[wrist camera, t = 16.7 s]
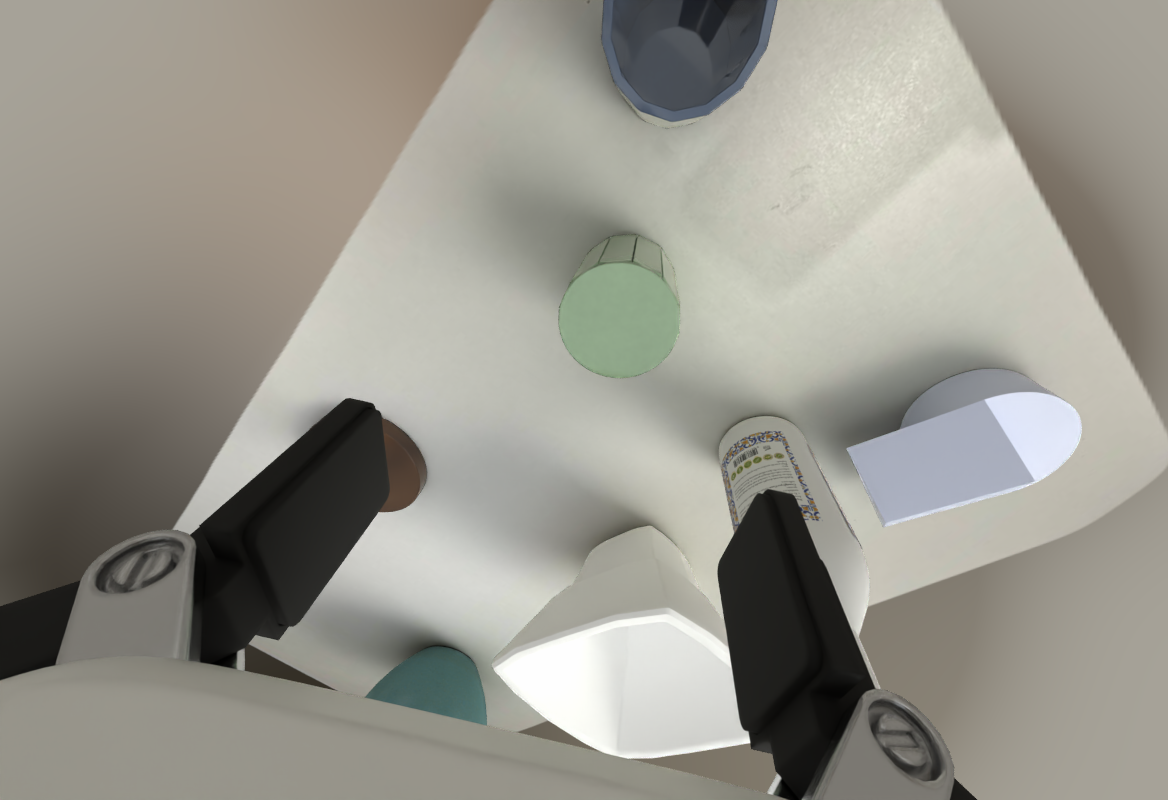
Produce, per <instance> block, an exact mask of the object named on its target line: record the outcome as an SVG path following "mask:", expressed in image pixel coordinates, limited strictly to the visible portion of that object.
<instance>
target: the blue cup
mask: <svg viewBox="0 0 1168 800" xmlns="http://www.w3.org/2000/svg"><path fill="white" fill-rule="evenodd" d="M777 1H778V0H603V17H602V34H601V40H602V45H603V49H604V52H605V55H606V59H607V62H608V65H609V68H610V72H611V75H612V78H613V81H614V83H615V85H616V86H617V88H618V90H619V91H620V93H621V94H622V96H623V97H624V99H625V101H626V102H627V103H628V104H629V105H630V106H631V108H632V109H633V110H634V111H635V112H636V113H637V114H638V116H639V117H640V118H641V119H642V120H644V121H645V122H648V123H651V124H653V125H656V126H660V127H662V128H665V129H669V128H674V127H680V126H684V125H689V124H692V123H695V122H696V121H698V120H700V119H702V118H703V117H705V116H707V115H709V114H710V113H712V112H713V111H714V110H715V109H717V108H718V107H719V106H721V105H722V104H723V103H725V102H726V101H727V100H729V99H730V98H731V97H733V96H734V95H735V94H736V93H738V92H739V91H740V90H741V89H742V88H743V87H744V85H745V83H746V82H747V80H748V78H749V77H750V75H751V74H752V72H753V70H754V69H755V67H756V65H757V64H758V62H759V61H760V59H761V57H762V56H763V54H764V52H765V51H766V49H767V46H768V42H769V37H770V33H771V28H772V24H773V19H774V15H775V10H776V6H777Z"/></svg>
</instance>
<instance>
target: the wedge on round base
mask: <svg viewBox="0 0 1168 800" xmlns="http://www.w3.org/2000/svg"><path fill="white" fill-rule="evenodd" d="M1081 432H1082V424H1081V419H1080V417H1079V415H1078V413H1077V411H1076V410H1075V409H1074V407H1072V406H1071V405H1070V404H1069V403H1068V402H1066V401H1065V400H1063V399H1061V398H1060V397H1058V396H1057V395H1055V394H1053V393H1052V392H1050V391H1049V390H1047V389H1045V388H1044V387H1042V386H1041V385H1039V384H1037V383H1036V382H1034V381H1033V380H1031V379H1029V378H1028V377H1026V376H1024V375H1022V374H1020V373H1017V372H1014V371H1011V370H1006V369H995V368H993V369H979V370H973V371H968V372H964V373H961V374H958V375H955V376H952V377H950V378H948V379H945V380H943V381H941V382H940V383H938V384H936V385H934V386H933V387H931V388H930V389H928V390H927V391H925V392H924V393H923V394H922V395H921V396H919V397H918V398H917V399H916V400H915V401H914V402H913V404H912V405H911V406H910V408H909V409H908V410H907V412H906V414H905V415H904V418H903V420H902V423H901V427H900V430H897V431H894V432H891V433H888V434H886V435H883V436H880V437H877V438H874V439H871V440H869V441H866V442H863V443H860V444H857V445H854V446H852V447H849V448H846V449H847V451H848V453H849V455H850V457H851V460H852V462H853V464H854V466H855V468H856V470H857V472H858V475H859V477H860V479H861V481H862V483H863V485H864V487H865V490H866V492H867V494H868V496H869V498H870V500H871V502H872V505H873V507H874V509H875V511H876V513H877V515H878V517H879V520H880V522H881V524H882V526H883V527H886V526H890V525H893V524H897V523H901V522H904V521H908V520H912V519H915V518H919V517H922V516H926V515H930V514H933V513H937V512H941V511H944V510H948V509H952V508H955V507H959V506H962V505H966V504H970V503H973V502H977V501H981V500H984V499H988V498H992V497H995V496H999V495H1002V494H1006V493H1010V492H1013V491H1016V490H1019V489H1022V488H1025V487H1027V486H1030V485H1032V484H1034V483H1036V482H1038V481H1040V480H1042V479H1043V478H1045V477H1047V476H1048V475H1050V474H1051V473H1052V472H1054V471H1055V470H1057V469H1058V468H1059V467H1060V466H1061V465H1062V464H1063V463H1065V461H1066V460H1067V459H1068V458H1069V457H1070V456H1071V454H1072V453H1073V452H1074V450H1075V449H1076V447H1077V445H1078V443H1079V440H1080V437H1081Z"/></svg>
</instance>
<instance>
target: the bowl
mask: <svg viewBox="0 0 1168 800" xmlns="http://www.w3.org/2000/svg"><path fill="white" fill-rule="evenodd" d="M492 667H493V669H494V671H495V672H496V673H497V674H498V675H499V676H500V677H501V679H502V680H503V681H504V682H505V683H506V684H507V685H508V686H509V687H510V688H511V689H512V691H513V692H514V693H515V694H517V695H518V696H519V697H520V698H522V699H523V700H524V701H525V702H526V703H528V704H529V705H530V706H531V707H532V708H534V709H535V710H536V711H537V712H538V713H540V714H541V715H542V716H543V717H544V718H546V719H547V720H548V721H550V722H552V723H553V724H555V725H557V726H558V727H560V728H561V729H563V730H564V731H566V732H568V733H569V734H571V735H572V736H574V737H575V738H577V739H579V740H580V741H582V742H583V743H585V744H587V745H589V746H591V747H593V748H595V749H597V750H599V751H601V752H603V753H606V754H610V755H614V756H619V757H623V758H656V757H663V756H669V755H677V754H684V753H690V752H698V751H704V750H710V749H716V748H722V747H729V746H734V745H741V744H747V743H750V739H749V732H748V731H745V730H743V728H742V726H741V723H740V719H739V713H738V706H737V700H736V693H735V687H734V680H733V673H732V667H731V660H730V654H729V647H728V640H727V634H726V627H725V621H724V620H723V619H722V617H721V616H720V615H719V613H718V612H717V611H716V609H715V608H714V607H713V605H712V604H711V603H710V601H709V600H708V599H707V598H706V596H705V595H704V594H703V593H702V592H701V591H700V588H699V586H698V584H697V581H696V579H695V576H694V574H693V571H692V569H691V567H690V565H689V563H688V561H687V559H686V558H685V557H684V555H683V554H682V553H681V551H680V550H679V549H678V547H677V546H676V545H675V544H674V543H673V542H672V541H671V540H669V539H668V538H667V537H666V536H665V535H664V534H663V533H661V532H660V531H658V530H657V529H655V528H654V527H652V526H645V527H640V528H635V529H632V530H630V531H627V532H625V533H623V534H620V535H618V536H616V537H613V538H611V539H609V540H607V541H604V542H602V543H601V544H599V545H598V546H597V547H595V548H594V549H593V550H592V551H591V552H590V554H589V556H588V558H587V559H586V561H585V563H584V565H583V567H582V568H581V570H580V572H579V574H578V576H577V577H576V579H575V581H574V583H573V585H571V586H568V587H567V588H566V589H564V590H563V591H562V592H560V593H559V594H557V595H556V596H555V597H553V598H552V599H551V600H550V601H549V602H548V603H547V605H546V606H545V607H544V608H543V609H542V610H541V611H540V612H539V613H538V614H537V615H536V616H535V617H534V618H533V619H532V620H531V621H530V622H529V623H528V624H527V625H526V626H525V627H524V628H523V629H522V630H521V631H520V632H519V633H518V634H517V635H516V636H515V637H514V638H513V639H512V640H511V642H510V643H509V644H508V645H507V646H506V647H505V648H504V649H503V650H502V651H501V652H500V653H499V654H498V655H497V656H496V657H495V658H494V659H493V662H492Z"/></svg>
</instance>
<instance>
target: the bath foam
mask: <svg viewBox="0 0 1168 800" xmlns="http://www.w3.org/2000/svg"><path fill="white" fill-rule="evenodd" d="M719 460H720V465H721V470H722V476H723V481H724V485H725V490H726V495H727V500H728V505H729V510H730V515H731V519H732V524H733V529H734V534H735V532H736V530H737V528H738V526H739V524H740V523H741V521H742V519H743V517H744V515H745V514H746V512H747V510H748V508H749V506H750V504H751V503H752V501H753V499H754V497H755V496H756V494H758V493H761V494H763V493H764V491H765V490H767V489H772V490H776V491H781V492H785V493H790V494H793V495H794V496H795V498H796V500H797V502H798V505H799V507H800V510H801V512H802V515H803V517H804V520H805V522H806V525H807V527H808V530H809V532H810V535H811V537H812V540H813V542H814V545H815V547H816V550H817V552H818V555H819V557H820V559H821V560H822V561H823V562H824V564H825V566H826V568H827V570H828V573H829V575H830V577H831V580H832V582H833V585H834V587H835V590H836V592H837V595H838V597H839V600H840V602H841V605H842V607H843V610H844V612H845V614H846V617H847V619H848V622H849V624H850V627H851V629H852V632H853V634H854V637H855V639H856V642H857V644H858V647H859V649H860V652H861V654H862V656H863V659H864V661H865V664H866V666H867V669H868V671H869V674H870V676H871V679H872V681H873V684H874V686H875V689H881V688H880V686H879V684H878V681H877V679H876V676H875V674H874V672H873V669H872V667H871V664H870V662H869V660H868V657H867V655H866V653H865V650H864V648H863V646H862V644H861V641H860V639H859V633H860V630H861V627H862V624H863V621H864V617H865V614H866V610H867V606H868V601H869V594H870V578H869V571H868V566H867V562H866V559H865V556H864V553H863V551H862V547H861V545H860V543H859V541H858V539H857V537H856V535H855V533H854V531H853V529H852V527H851V525H850V524H849V522H848V520H847V518H846V516H845V514H844V512H843V510H842V508H841V506H840V504H839V502H838V500H837V498H836V496H835V494H834V493H833V491H832V489H831V487H830V485H829V483H828V481H827V479H826V477H825V475H824V473H823V471H822V469H821V467H820V465H819V463H818V462H817V460H816V458H815V456H814V454H813V452H812V450H811V448H810V447H809V445H808V443H807V441H806V439H805V437H804V435H803V434H802V432H801V431H800V430H799V429H798V428H797V427H796V426H795V425H794V424H792V423H791V422H789V421H787V420H785V419H782V418H778V417H773V416H759V417H753V418H749V419H746V420H744V421H742V422H740V423H738V424H736V425H735V426H733V427H732V428H731V429H730V430H729V431H728V432H727V433H726V434H725V436H724V437H723V439H722V441H721V443H720V447H719Z"/></svg>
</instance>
